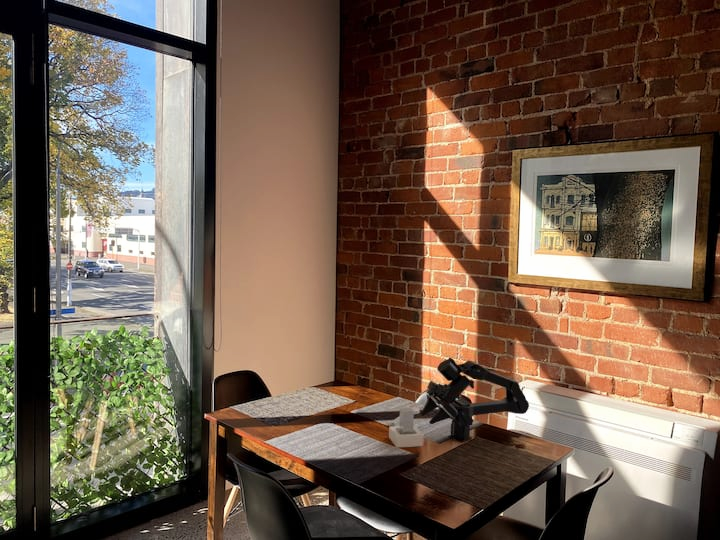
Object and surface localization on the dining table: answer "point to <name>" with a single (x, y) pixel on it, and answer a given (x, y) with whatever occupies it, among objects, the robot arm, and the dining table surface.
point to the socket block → (406, 437)
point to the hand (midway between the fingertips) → (425, 419)
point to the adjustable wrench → (397, 420)
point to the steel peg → (406, 421)
